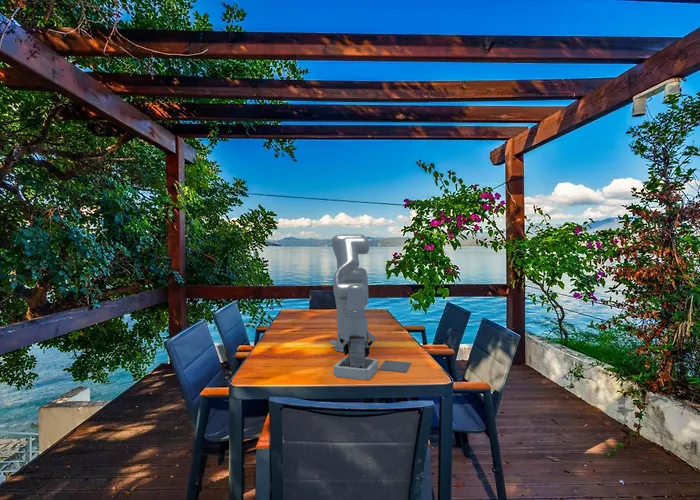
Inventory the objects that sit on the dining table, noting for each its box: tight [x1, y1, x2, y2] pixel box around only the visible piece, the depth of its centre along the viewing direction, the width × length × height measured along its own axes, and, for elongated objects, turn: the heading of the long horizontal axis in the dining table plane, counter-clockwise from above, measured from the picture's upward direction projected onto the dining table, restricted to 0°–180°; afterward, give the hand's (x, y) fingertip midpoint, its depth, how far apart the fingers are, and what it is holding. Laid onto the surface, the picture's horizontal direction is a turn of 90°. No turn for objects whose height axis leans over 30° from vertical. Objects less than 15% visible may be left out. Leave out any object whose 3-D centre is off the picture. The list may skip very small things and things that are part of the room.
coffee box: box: [347, 336, 366, 369], centre depth 148 cm, size 9×6×16 cm
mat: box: [377, 359, 412, 374], centre depth 154 cm, size 12×13×1 cm
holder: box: [333, 356, 379, 381], centre depth 148 cm, size 15×15×4 cm
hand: (356, 355), depth 148 cm, fingers closed on coffee box, 8 cm apart
